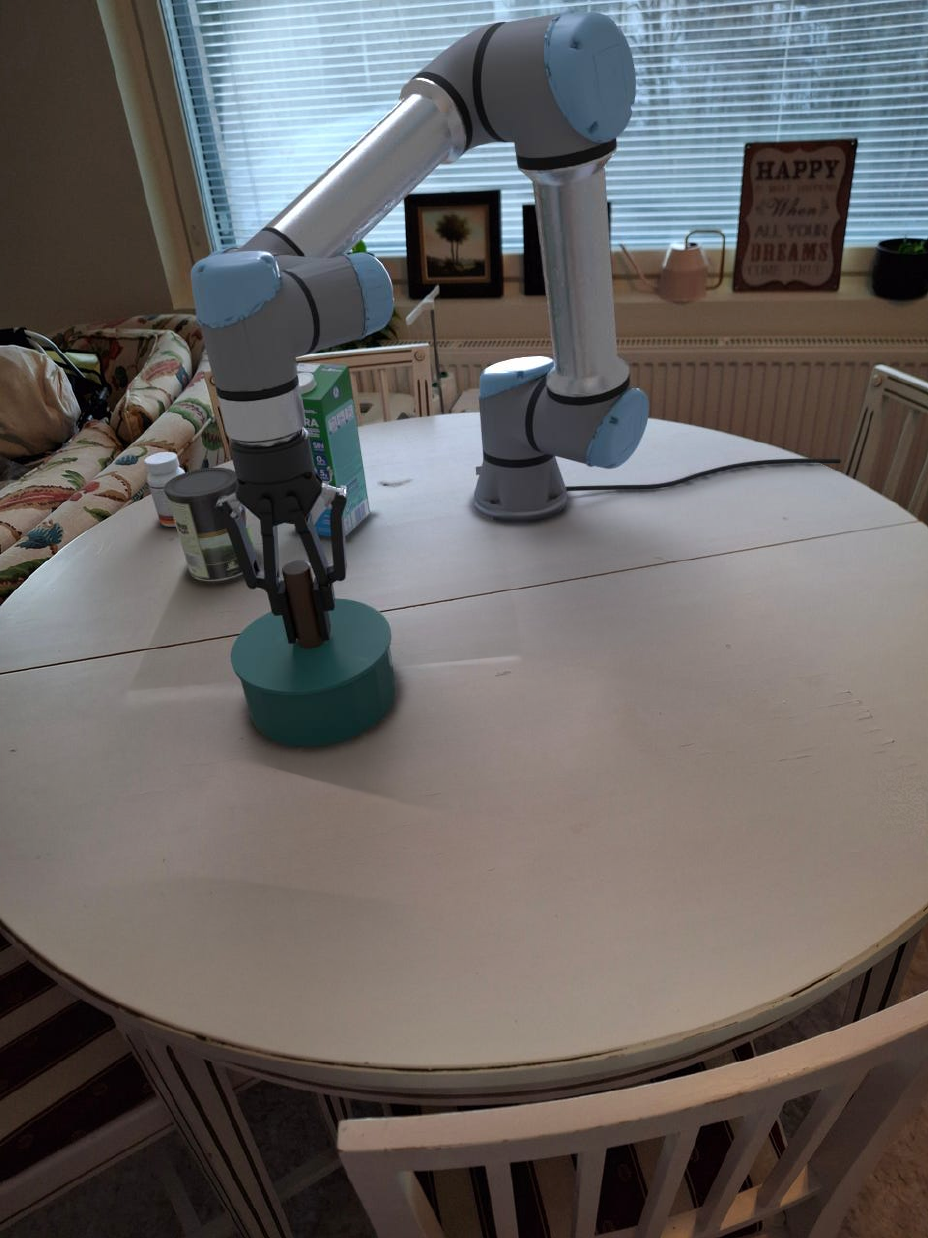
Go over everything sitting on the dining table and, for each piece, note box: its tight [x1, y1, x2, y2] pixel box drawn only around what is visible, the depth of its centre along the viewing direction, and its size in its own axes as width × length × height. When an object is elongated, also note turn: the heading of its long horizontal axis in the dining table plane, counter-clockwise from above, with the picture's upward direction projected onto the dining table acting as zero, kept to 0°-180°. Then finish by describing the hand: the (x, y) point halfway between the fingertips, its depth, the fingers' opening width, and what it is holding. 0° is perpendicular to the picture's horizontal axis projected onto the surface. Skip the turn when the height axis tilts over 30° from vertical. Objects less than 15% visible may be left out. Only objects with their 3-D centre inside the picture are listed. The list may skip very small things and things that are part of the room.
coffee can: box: [164, 467, 257, 582], centre depth 118 cm, size 10×10×14 cm
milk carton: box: [294, 362, 371, 537], centre depth 124 cm, size 9×9×25 cm
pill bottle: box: [143, 451, 186, 528], centre depth 134 cm, size 6×6×11 cm
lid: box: [230, 560, 392, 696], centre depth 87 cm, size 18×18×11 cm
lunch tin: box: [240, 646, 396, 748], centre depth 92 cm, size 17×17×8 cm
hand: (310, 634), depth 89 cm, fingers closed on lid, 3 cm apart
